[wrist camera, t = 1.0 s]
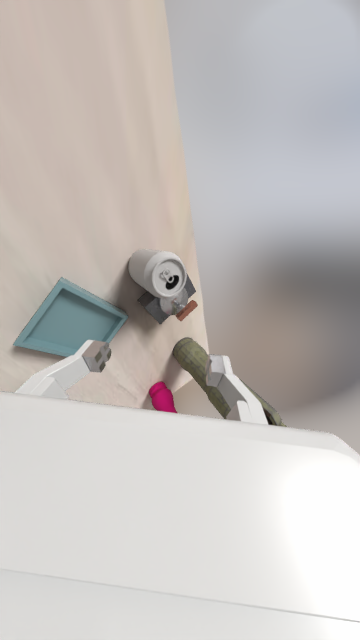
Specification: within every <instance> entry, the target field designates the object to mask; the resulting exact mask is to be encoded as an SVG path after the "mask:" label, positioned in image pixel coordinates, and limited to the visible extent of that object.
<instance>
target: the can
mask: <svg viewBox="0 0 360 640" xmlns="http://www.w3.org/2000/svg"><path fill="white" fill-rule="evenodd" d="M129 273H130V276H131V277H132V279H133V280H134V281H135V282H136V283H138V284H139V285H140V286H142V287H143V288H144V289H146V290H147V291H149V292H150V293H151V294H153V295H154V296H155V297H158V298H169V297H173V296H175V295H177V294H178V293H180V292H181V290H182V289H183V288H184V285H185V283H186V278H187V274H186V269H185V266H184V264H183V263H182V261H181V259H180V258H179V257H178V256H177V255H175V254H174V253H172V252H167V251H159V250H150V249H141V250H138V251H136V252H135V253H134V254H133V255H132V256H131V258H130V261H129Z"/></svg>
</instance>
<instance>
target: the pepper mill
mask: <svg viewBox="0 0 360 640" xmlns="http://www.w3.org/2000/svg"><path fill="white" fill-rule="evenodd" d="M149 394H150V396H151V398H152V405H153V406H154V408H155V409H156V410H157V411H164V412H171V413H177V412H176V410H175V407H174V401H173V395H172V393H171V391H170V390H169V389H167V387H166V385H165V383H163V382H158V383H156V384H154V385H153V386H152V387H151V389H150V391H149Z"/></svg>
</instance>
